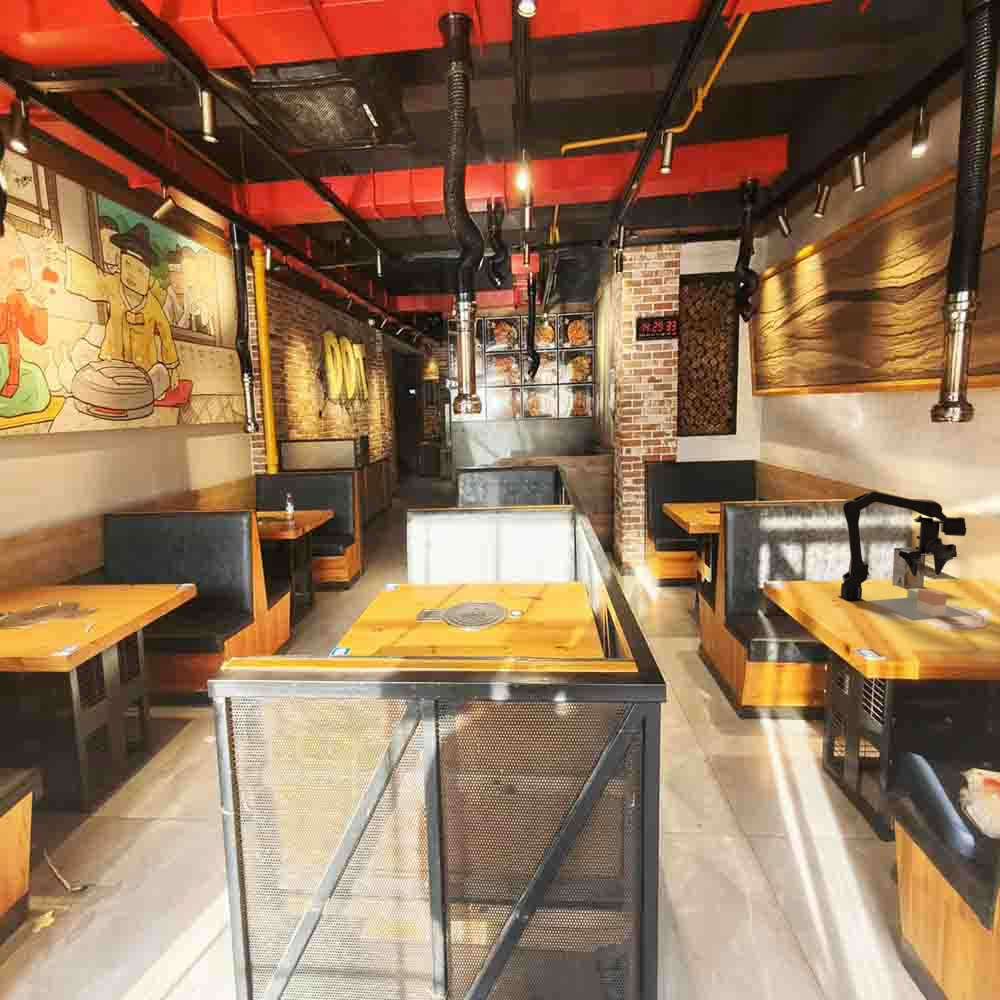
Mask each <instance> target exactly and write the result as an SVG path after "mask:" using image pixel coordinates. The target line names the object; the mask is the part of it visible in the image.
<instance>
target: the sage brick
mask: <svg viewBox="0 0 1000 1000" xmlns="http://www.w3.org/2000/svg"><path fill="white" fill-rule="evenodd" d="M918 589H920V587H915V588H907V596H906V598H907V599H908V600H911V601H914V602H917V603H918Z"/></svg>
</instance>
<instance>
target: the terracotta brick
mask: <svg viewBox="0 0 1000 1000" xmlns="http://www.w3.org/2000/svg"><path fill="white" fill-rule="evenodd" d="M918 600H919V601H922V602H925V603H927V604H930V605H933V606H939V605H946V606H947V593H945V592H941V591H939V590H936V589H932V588H919V589H918Z"/></svg>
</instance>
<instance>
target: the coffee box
mask: <svg viewBox="0 0 1000 1000" xmlns="http://www.w3.org/2000/svg"><path fill="white" fill-rule="evenodd" d="M916 547H917V546H909V547H908V546H907V547H894V548H893V564H892V566H893V567H892V580H891V581H892V584H891V585H892V586H897V587H899V588H903V589H914V588H924V583H925V582H924V581H925V579H924V578H925V564H926V563H925V562H926V556H921V557H920V558H919V560H921V561H920V562H919V563H918V568H917V575H916V577H915V576H913V575H912V572H911V570H910V568H909V566H908V564H907V563H906V561H905V559H903V558H902V557H900V556H899V551H900V550H901V549H913V550H917V549H916ZM917 551H919V550H917Z"/></svg>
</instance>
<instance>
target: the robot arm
mask: <svg viewBox="0 0 1000 1000" xmlns="http://www.w3.org/2000/svg"><path fill="white" fill-rule="evenodd" d="M874 503H879V504H884V505H889V506H893V507H898V508H902V509H905V510H906V509H907V510H911V511H913V512H915V513H918V514H920V515H918V516H917V517H916V518H914V519H913V521H914V522H915V523H919V524H920V526H919V535H916V540H918V546H915V547H916V549H917V550H919V551H917V550H913V549H901V550H900V551H899V556H900V557H902V558H903V559H905V561H906V563H907V564H908V566H909V568H910V570H911V572H912V575H913V576H915V577H916V575H917V568H918V563H919V562H920V561H921V560H919V558H920V557H921V556H925V557H927V556H933V564H934V572H935V575H936V576H940V574H941V572H942V571H943V569H944V567H945V565H946V563H948V562H949V561H950V560H953V559H954V558H957V555H958V552H957V546H956V544H955V543H950V544H944V543H943V540H942V538H941V537H940V533H943V534H944V536H952V537H953V536H954V537H965V536H966V535H967V523H966V518H965V517H963V516H958V517H950V516H949V517H948V516H947V515H946V514H944V512H943V507H942V505H941V504H940V503H938V502H937V501H935V500H933V499H926V498H925V499H923V498H919V499H918V498H908V497H904V496H899V495H895V494H889V493H886V492H885V493H884V492H881V491H877V490H873V489H872V490H870V491H868V492H866V493H865V494H862V495H858V496H856V497H855V498H847V499H845V500H844V501H843V502H842V504H841V509H842V511H843V515H844V518H845V521H846V524H847V525H846V526H847V534H848V542H849V543H848V544H849V553H850V560H849V566H848V571H847V572H846V573H844V574H842V576H841V577H842V580H843V582H842V583H841V584H840V585H841V587H840V595H838V596H837V598H839V599H841V600H843V601H846V602H849V603H850V602H861V601H862V602H863V601H864V599H863V596H862V595H863V587H862V584H863V583H864V582H866V581H867V580H868V576H870V572H869V564H868V561H867V560H864V559H863V555H862V544H861V536H860V535H861V534H860V525H859V522H860V517H861V511H862V510H864V509H865V508H867V507H869V506H871V505H873V504H874ZM923 516H925V517H923ZM934 518H936V519H937V520H936V519H935V520H934ZM863 560H864V561H863ZM864 602H865V601H864Z"/></svg>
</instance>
